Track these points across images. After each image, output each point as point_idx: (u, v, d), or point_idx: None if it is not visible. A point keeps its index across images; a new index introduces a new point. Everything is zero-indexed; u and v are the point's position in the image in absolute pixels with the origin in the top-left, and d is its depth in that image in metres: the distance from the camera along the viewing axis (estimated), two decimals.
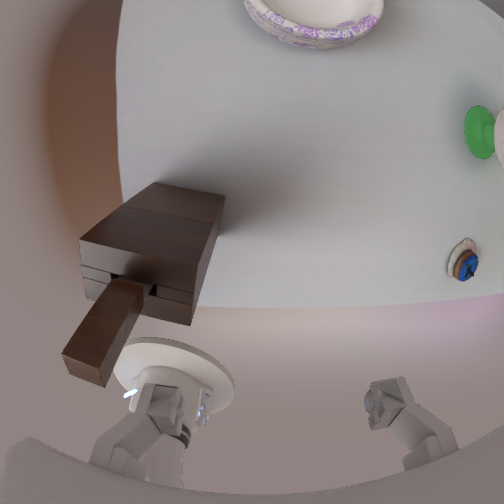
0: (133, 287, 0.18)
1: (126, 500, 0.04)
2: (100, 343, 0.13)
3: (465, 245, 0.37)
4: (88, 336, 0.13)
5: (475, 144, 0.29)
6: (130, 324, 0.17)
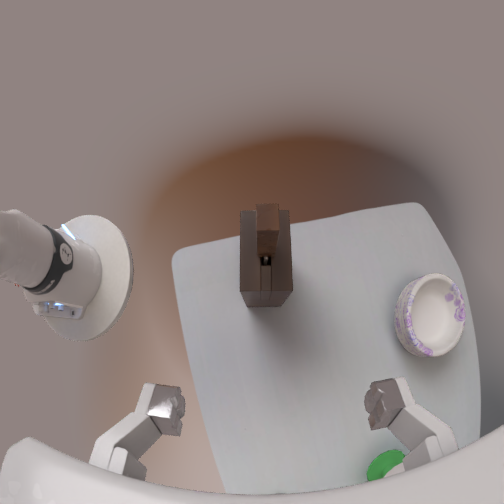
0: None
1: (126, 500, 0.04)
2: None
3: None
4: None
5: (375, 467, 0.37)
6: (264, 248, 0.28)
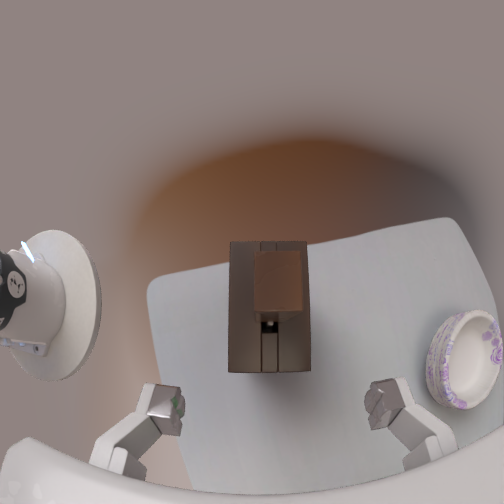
0: None
1: (126, 500, 0.04)
2: None
3: None
4: None
5: None
6: (269, 319, 0.16)
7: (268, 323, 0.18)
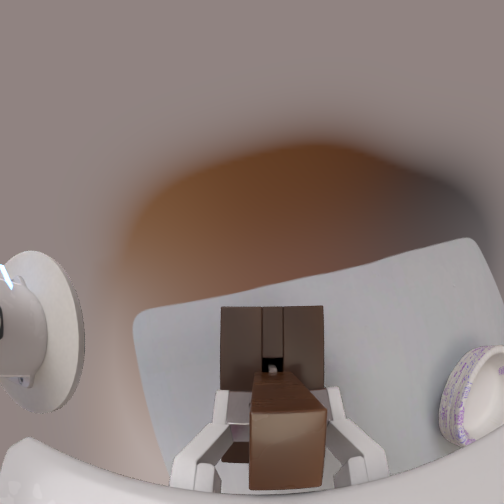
0: None
1: (126, 500, 0.04)
2: None
3: None
4: None
5: None
6: None
7: None
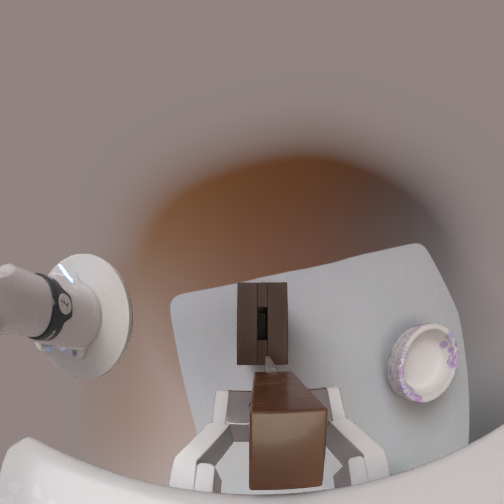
0: None
1: (126, 500, 0.04)
2: None
3: None
4: None
5: None
6: None
7: None
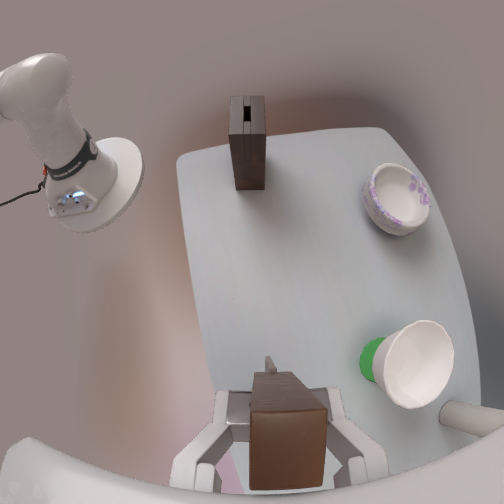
0: None
1: (126, 500, 0.04)
2: None
3: None
4: None
5: (368, 356, 0.46)
6: None
7: None
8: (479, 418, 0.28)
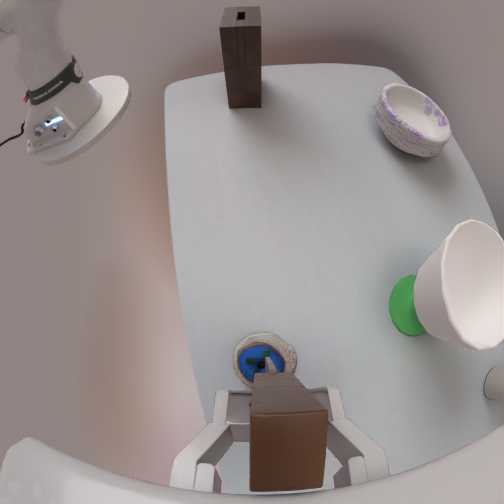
0: None
1: (126, 500, 0.04)
2: None
3: (286, 352, 0.33)
4: None
5: (400, 299, 0.34)
6: None
7: None
8: None
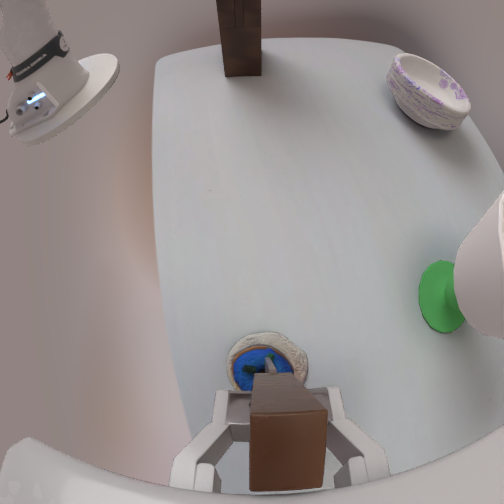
0: None
1: (126, 500, 0.04)
2: None
3: (295, 356, 0.25)
4: None
5: (430, 288, 0.27)
6: None
7: None
8: None
